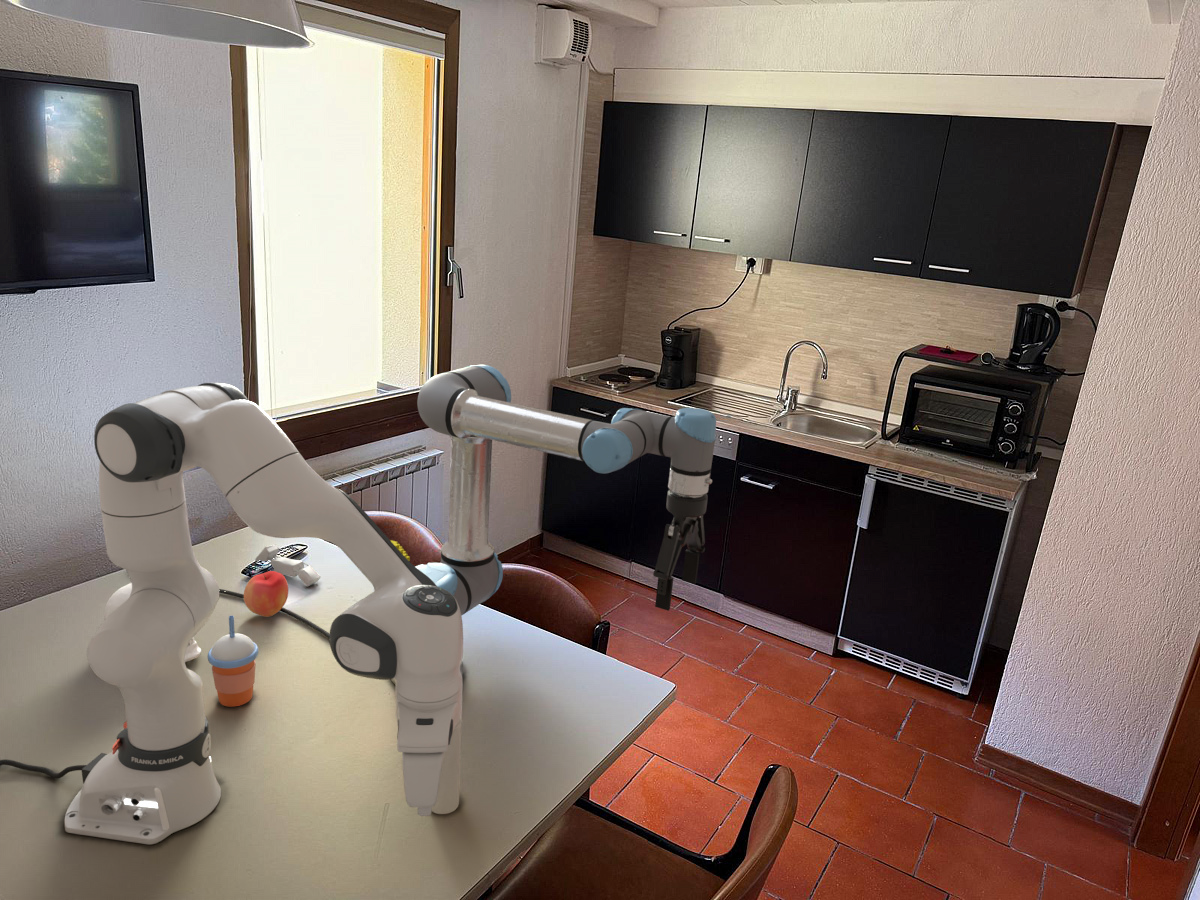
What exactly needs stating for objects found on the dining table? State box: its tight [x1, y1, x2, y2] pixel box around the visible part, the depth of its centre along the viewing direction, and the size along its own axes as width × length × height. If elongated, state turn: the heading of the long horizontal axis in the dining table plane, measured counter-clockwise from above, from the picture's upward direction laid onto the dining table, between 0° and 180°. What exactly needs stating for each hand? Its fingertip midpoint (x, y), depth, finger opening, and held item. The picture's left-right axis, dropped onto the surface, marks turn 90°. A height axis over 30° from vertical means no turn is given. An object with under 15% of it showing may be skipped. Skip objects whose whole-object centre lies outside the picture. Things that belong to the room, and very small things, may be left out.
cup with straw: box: [207, 615, 260, 708], centre depth 166 cm, size 9×9×18 cm
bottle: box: [431, 716, 463, 815], centre depth 142 cm, size 5×5×22 cm
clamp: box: [254, 544, 322, 587], centre depth 219 cm, size 20×4×7 cm, turn 62°
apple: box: [243, 570, 289, 618], centre depth 199 cm, size 10×10×10 cm
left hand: (428, 788), depth 119 cm, fingers open, 8 cm apart
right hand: (676, 594), depth 165 cm, fingers open, 13 cm apart
